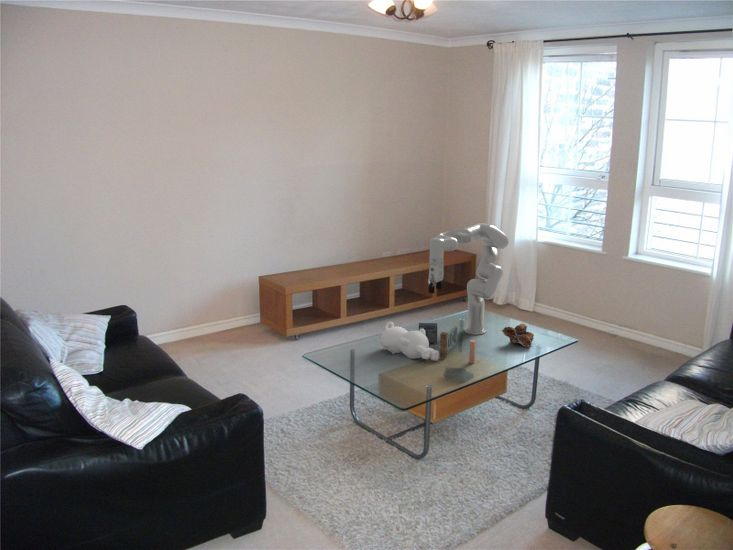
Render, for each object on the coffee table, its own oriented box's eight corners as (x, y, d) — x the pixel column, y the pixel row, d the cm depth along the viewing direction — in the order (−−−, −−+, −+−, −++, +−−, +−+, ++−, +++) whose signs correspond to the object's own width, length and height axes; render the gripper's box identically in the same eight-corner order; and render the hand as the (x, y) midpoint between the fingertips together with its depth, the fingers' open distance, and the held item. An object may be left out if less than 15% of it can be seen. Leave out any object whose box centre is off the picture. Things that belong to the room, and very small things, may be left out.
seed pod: (495, 327, 375) (510, 328, 359) (521, 317, 380) (537, 317, 364) (503, 352, 375) (518, 353, 359) (529, 341, 381) (545, 342, 365)
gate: (446, 355, 352) (447, 335, 349) (442, 354, 353) (443, 335, 350) (457, 344, 368) (457, 325, 365) (453, 343, 368) (454, 324, 366)
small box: (437, 340, 377) (437, 322, 374) (437, 344, 371) (437, 326, 368) (418, 339, 378) (418, 322, 375) (418, 343, 372) (418, 326, 369)
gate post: (441, 356, 353) (442, 331, 349) (446, 357, 352) (447, 332, 348) (439, 358, 350) (440, 333, 347) (445, 359, 349) (445, 334, 345)
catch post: (470, 361, 346) (471, 339, 343) (474, 362, 345) (475, 340, 342) (469, 363, 344) (469, 341, 341) (473, 363, 343) (474, 342, 340)
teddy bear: (418, 368, 335) (368, 344, 358) (436, 371, 349) (387, 348, 371) (430, 333, 335) (380, 312, 357) (448, 338, 349) (399, 317, 371)
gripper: (436, 264, 350) (434, 295, 354) (449, 258, 365) (447, 288, 369) (423, 262, 354) (422, 293, 358) (436, 256, 368) (435, 286, 373)
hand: (435, 291), depth 363 cm, fingers open, 9 cm apart
